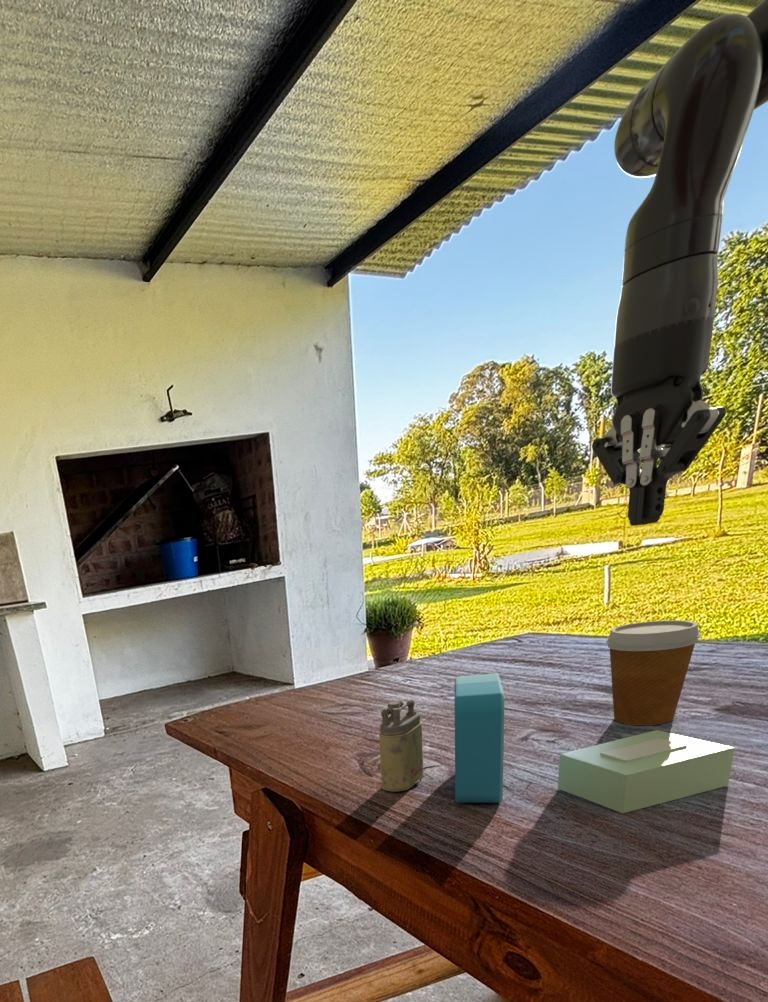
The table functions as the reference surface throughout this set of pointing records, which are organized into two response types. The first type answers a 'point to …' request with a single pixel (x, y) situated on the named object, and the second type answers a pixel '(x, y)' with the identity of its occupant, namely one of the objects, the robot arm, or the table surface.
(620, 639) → the disposable coffee cup
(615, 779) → the tissue box
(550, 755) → the table surface
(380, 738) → the lighter
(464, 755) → the data package
